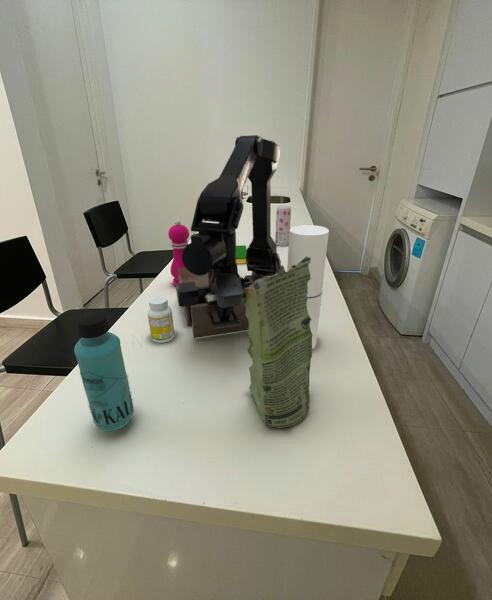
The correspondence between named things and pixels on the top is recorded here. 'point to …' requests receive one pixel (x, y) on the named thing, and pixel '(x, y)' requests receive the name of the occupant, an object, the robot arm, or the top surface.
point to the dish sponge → (241, 254)
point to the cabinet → (199, 281)
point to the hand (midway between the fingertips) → (224, 325)
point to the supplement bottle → (160, 319)
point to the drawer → (216, 320)
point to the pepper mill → (178, 247)
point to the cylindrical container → (310, 265)
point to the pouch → (280, 344)
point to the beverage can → (282, 225)
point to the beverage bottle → (103, 372)
